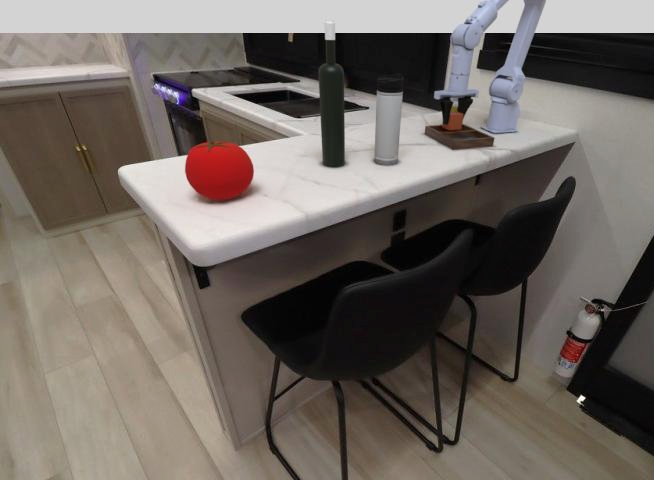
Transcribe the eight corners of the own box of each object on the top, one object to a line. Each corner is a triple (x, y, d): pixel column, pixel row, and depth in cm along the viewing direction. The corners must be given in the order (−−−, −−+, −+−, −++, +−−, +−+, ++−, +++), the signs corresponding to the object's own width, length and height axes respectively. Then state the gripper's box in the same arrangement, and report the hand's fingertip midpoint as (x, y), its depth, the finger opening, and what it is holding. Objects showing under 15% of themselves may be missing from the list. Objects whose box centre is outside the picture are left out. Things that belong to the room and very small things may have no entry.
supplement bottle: (455, 128, 131) (460, 96, 125) (441, 125, 133) (445, 94, 127) (461, 125, 135) (466, 94, 129) (447, 122, 137) (451, 92, 131)
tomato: (180, 198, 78) (164, 143, 71) (229, 180, 87) (219, 129, 80) (220, 213, 73) (207, 155, 67) (267, 191, 82) (260, 138, 76)
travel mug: (403, 161, 101) (410, 75, 89) (387, 166, 97) (392, 77, 85) (385, 155, 104) (390, 72, 92) (369, 161, 100) (372, 74, 88)
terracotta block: (453, 126, 123) (456, 110, 120) (461, 129, 120) (463, 114, 117) (441, 126, 122) (443, 111, 119) (448, 130, 118) (451, 114, 116)
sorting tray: (461, 131, 128) (462, 123, 126) (492, 146, 115) (494, 137, 113) (424, 134, 124) (425, 125, 122) (453, 150, 110) (454, 141, 109)
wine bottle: (349, 164, 98) (348, 20, 80) (332, 169, 95) (327, 20, 76) (335, 158, 101) (331, 19, 83) (318, 163, 98) (310, 19, 80)
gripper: (473, 71, 117) (464, 119, 125) (431, 72, 112) (426, 121, 121) (486, 75, 111) (477, 124, 120) (443, 76, 107) (437, 127, 115)
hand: (452, 123), depth 120 cm, fingers closed on terracotta block, 4 cm apart
